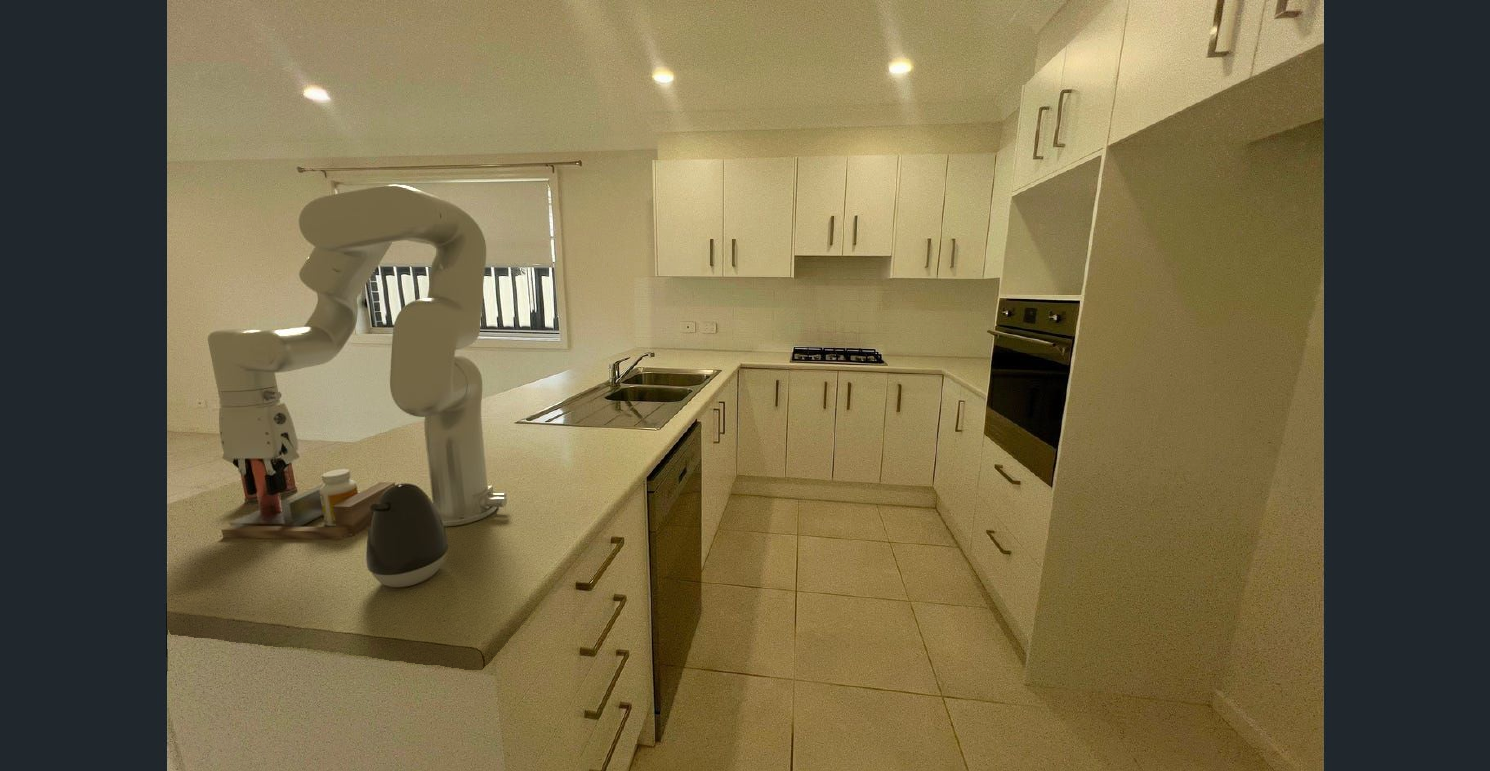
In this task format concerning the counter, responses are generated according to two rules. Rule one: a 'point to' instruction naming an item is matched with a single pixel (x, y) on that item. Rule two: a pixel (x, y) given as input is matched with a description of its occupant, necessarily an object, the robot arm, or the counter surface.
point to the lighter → (290, 490)
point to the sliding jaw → (280, 504)
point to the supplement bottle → (335, 492)
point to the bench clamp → (348, 522)
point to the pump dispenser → (405, 537)
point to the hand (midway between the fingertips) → (267, 491)
